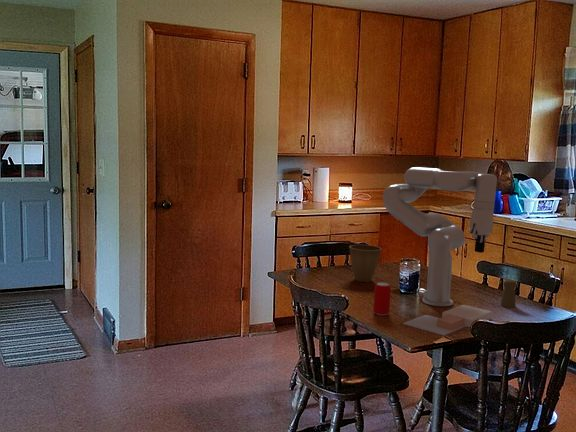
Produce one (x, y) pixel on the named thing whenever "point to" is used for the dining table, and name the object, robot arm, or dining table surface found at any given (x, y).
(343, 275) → the dining table surface
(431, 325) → the mat
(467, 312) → the grey flat block
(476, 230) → the robot arm
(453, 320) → the terracotta tile
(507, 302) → the cork
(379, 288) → the beverage can
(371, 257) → the plant pot
